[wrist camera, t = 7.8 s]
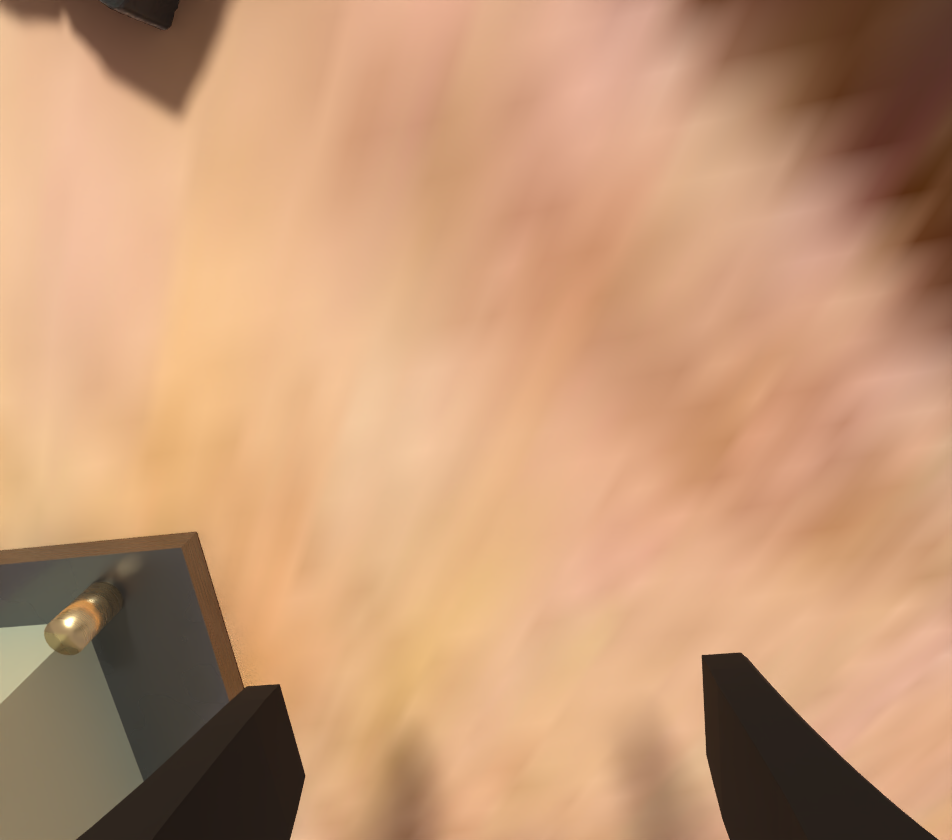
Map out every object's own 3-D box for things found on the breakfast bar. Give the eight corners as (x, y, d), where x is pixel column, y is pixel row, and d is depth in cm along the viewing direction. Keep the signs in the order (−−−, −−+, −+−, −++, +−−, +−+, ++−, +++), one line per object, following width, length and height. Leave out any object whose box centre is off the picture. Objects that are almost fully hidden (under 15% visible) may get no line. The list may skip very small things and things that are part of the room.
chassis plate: (289, 839, 26) (259, 919, 23) (-1, 851, 27) (-63, 929, 24) (196, 531, 22) (146, 584, 19) (-140, 564, 23) (-233, 617, 20)
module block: (84, 621, 22) (-70, 772, 16) (155, 811, 25) (43, 1000, 19) (-30, 630, 23) (-217, 780, 17) (51, 816, 25) (-88, 1001, 19)
